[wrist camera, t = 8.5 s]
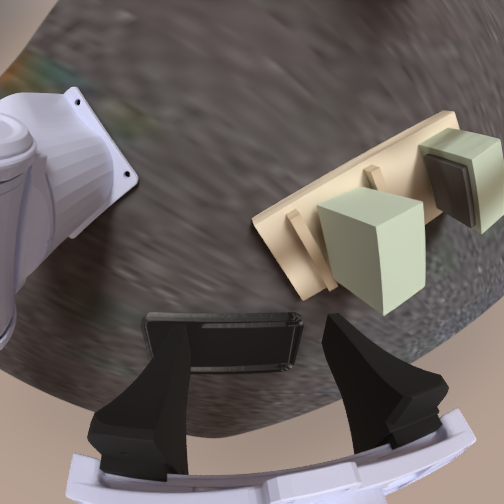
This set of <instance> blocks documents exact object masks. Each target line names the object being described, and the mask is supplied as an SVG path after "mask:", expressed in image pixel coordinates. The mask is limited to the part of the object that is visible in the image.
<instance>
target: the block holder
mask: <svg viewBox="0 0 504 504" xmlns="http://www.w3.org/2000/svg"><path fill="white" fill-rule="evenodd" d="M358 187H365V188H369V189H374V190H378V191H382V192H386V193H391V194H395V195H399V196H403V197H407V198H410V199H414V200H418V201H422V202H423V210H424V225H426V224H427V223H428V222H430V221H431V220H433V219H434V218H436V217H437V216H438V215H440V214H441V213H442V212H444V213H446V214H448V215H450V216H451V217H453V218H455V219H456V220H458V221H460V222H461V223H463V224H465V225H466V226H468V227H470V228H472V229H474V230H476V231H477V232H479V233H480V234H483V233H484V232H485V231H486V230H487V229H488V228H489V227H490V226H492V225H493V224H494V223H495V222H496V221H497V220H498V219H499V218H500V217H501V216H502V215H503V214H504V160H503V153H502V147H501V142H500V139H497V138H493V137H489V136H485V135H481V134H477V133H472V132H468V131H463V130H459V126H458V123H457V119H456V116H455V113H454V112H452V111H441V112H439V113H437V114H436V115H434V116H432V117H430V118H428V119H426V120H424V121H422V122H420V123H418V124H416V125H415V126H413V127H411V128H409V129H407V130H405V131H403V132H401V133H400V134H398V135H396V136H394V137H392V138H390V139H388V140H387V141H385V142H383V143H381V144H379V145H377V146H376V147H374V148H372V149H370V150H368V151H367V152H365V153H363V154H361V155H359V156H358V157H356V158H354V159H352V160H350V161H349V162H347V163H345V164H343V165H342V166H340V167H338V168H336V169H335V170H333V171H331V172H329V173H328V174H326V175H324V176H322V177H321V178H319V179H317V180H315V181H314V182H312V183H310V184H308V185H307V186H305V187H303V188H302V189H300V190H298V191H297V192H295V193H293V194H291V195H290V196H288V197H286V198H285V199H283V200H281V201H280V202H278V203H276V204H275V205H273V206H271V207H269V208H268V209H266V210H264V211H263V212H261V213H260V214H258V215H256V216H255V217H253V218H252V221H253V224H254V226H255V228H256V229H257V231H258V232H259V234H260V235H261V237H262V238H263V240H264V241H265V243H266V245H267V246H268V248H269V249H270V251H271V252H272V254H273V255H274V257H275V258H276V260H277V261H278V263H279V264H280V266H281V268H282V269H283V271H284V272H285V274H286V275H287V277H288V278H289V280H290V282H291V283H292V285H293V286H294V288H295V289H296V291H297V292H298V294H299V296H300V297H301V299H302V300H303V301H304V300H306V299H308V298H309V297H311V296H313V295H315V294H316V293H318V292H320V291H322V290H323V289H325V288H328V290H329V291H331V290H333V289H335V288H336V287H338V285H337V283H336V282H337V281H336V280H334V279H333V277H332V272H331V267H330V262H329V257H328V253H327V248H326V244H325V239H324V235H323V231H322V226H321V222H320V218H319V214H318V210H317V206H316V205H317V204H320V203H322V202H324V201H327V200H329V199H332V198H334V197H336V196H339V195H341V194H344V193H346V192H348V191H351V190H353V189H356V188H358Z"/></svg>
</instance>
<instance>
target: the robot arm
mask: <svg viewBox="0 0 504 504" xmlns="http://www.w3.org/2000/svg"><path fill="white" fill-rule="evenodd" d="M79 99H80V101H81V102H80V104H79V105H77V101H78V100H79ZM126 171H128V172H130V177H127V176H126V175H125V172H126ZM138 180H139V179H138V176H137V174H136V173H135V171H134V170H133V168H132V167H131V166H130V164H129V163H128V161H127V160H126V159H125V157H124V156H123V154H122V153H121V151H120V150H119V149H118V147H117V146H116V144H115V143H114V141H113V140H112V138H111V137H110V136H109V134H108V133H107V131H106V130H105V128H104V127H103V125H102V124H101V122H100V121H99V119H98V118H97V116H96V115H95V113H94V112H93V110H92V109H91V107H90V106H89V104H88V103H87V101H86V100H85V98H84V97H83V95H82V93H81V92H80V90H79V89H78V88H77V87H71V88H70V89H68V90H67V91H66V92H65V93H64V94H49V93H16V94H13V95H10V96H8V97H5V98H3V99H1V100H0V350H1V349H2V348H3V347H4V346H5V345H6V344H7V342H8V341H9V339H10V338H11V336H12V333H13V331H14V328H15V324H16V316H17V312H16V304H15V298H14V295H15V294H16V293H17V292H18V291H19V290H20V288H21V287H22V286H23V285H24V284H25V283H26V278H27V276H28V275H30V274H31V273H32V272H33V271H34V270H35V269H36V268H37V267H38V266H39V265H40V264H41V263H42V262H43V261H44V260H45V259H46V258H47V257H48V256H49V255H50V254H51V253H52V252H53V251H54V250H55V249H56V248H57V247H58V246H59V245H60V244H61V243H62V242H63V241H64V240H65V239H66V238H67V237H70V238H72V239H74V238H75V237H76V236H77V235H78V234H80V233H81V232H82V231H83V230H84V229H85V228H86V227H87V226H88V225H89V224H90V223H91V222H92V221H94V220H95V219H96V218H97V217H98V216H99V215H100V214H101V213H103V212H104V211H105V210H106V209H107V208H108V207H109V206H111V205H112V204H113V203H114V202H115V201H117V200H118V199H119V198H120V197H121V196H123V195H124V194H125V193H126V192H127V191H129V190H130V189H131V188H132V187H134V186H135V185H136V184H137V183H138ZM322 346H323V350H324V354H325V357H326V360H327V362H328V365H329V367H330V370H331V372H332V374H333V376H334V379H335V381H336V383H337V386H338V388H339V390H340V393H341V396H342V399H343V402H344V406H345V410H346V414H347V418H348V422H349V426H350V431H351V436H352V442H353V448H354V455H351V456H348V457H344V458H340V459H336V460H332V461H328V462H323V463H319V464H314V465H309V466H304V467H298V468H292V469H286V470H279V471H271V472H262V473H252V474H239V475H238V474H237V475H189V474H188V462H187V448H186V447H187V445H186V404H187V396H188V388H189V380H190V372H191V349H190V344H189V339H188V333H187V328H186V324H173V325H172V327H171V329H170V331H169V332H168V334H167V336H166V338H165V340H164V341H163V343H162V345H161V346H160V348H159V350H158V351H157V353H156V354H155V356H154V357H153V359H152V360H151V361H150V363H149V364H148V366H147V367H146V368H145V369H144V371H143V372H142V373H141V374H140V375H139V377H138V378H137V379H136V380H135V381H134V382H133V383H132V384H131V385H130V386H129V387H128V388H127V389H126V390H125V391H124V392H123V393H121V394H120V395H119V396H118V397H117V398H116V399H114V400H113V401H112V402H111V403H109V404H108V405H106V406H105V407H103V408H102V409H100V410H99V411H97V412H95V413H94V416H93V418H92V421H91V424H90V428H89V432H88V436H87V438H88V441H89V442H90V444H91V445H92V446H93V447H94V448H95V449H96V450H97V451H98V452H99V453H100V454H101V455H102V457H101V461H100V460H99V459H96V458H93V457H89V456H85V455H81V454H77V453H74V454H73V458H72V462H71V467H70V472H69V477H68V482H67V488H66V494H65V495H66V497H68V498H70V499H71V500H73V501H75V502H77V503H79V504H387V501H386V498H385V495H388V494H390V493H392V492H394V491H396V490H399V489H401V488H403V487H405V486H407V485H409V484H411V483H413V482H415V481H417V480H419V479H421V478H423V477H424V476H426V475H428V474H430V473H432V472H433V471H435V470H437V469H439V468H441V467H442V466H444V465H446V464H447V463H449V462H451V461H452V460H454V459H455V458H456V457H457V456H459V455H460V454H461V453H462V452H464V451H465V450H466V449H467V448H468V447H469V446H471V445H472V444H473V443H474V442H475V441H476V438H475V436H474V434H473V432H472V430H471V429H470V427H469V425H468V424H467V422H466V420H465V418H464V417H463V415H462V414H461V412H460V410H459V409H458V408H456V409H454V410H452V411H450V412H448V413H446V414H445V415H443V416H442V417H440V418H439V417H438V415H437V414H438V413H439V410H438V408H437V406H438V405H439V404H440V402H441V401H442V400H443V399H444V397H445V396H446V394H447V392H448V389H449V387H448V385H447V383H446V382H445V380H444V379H443V378H442V376H441V375H439V374H435V373H432V372H429V371H425V370H422V369H420V368H417V367H415V366H412V365H410V364H408V363H406V362H404V361H402V360H400V359H398V358H396V357H394V356H393V355H391V354H390V353H388V352H386V351H385V350H383V349H382V348H380V347H379V346H377V345H376V344H375V343H373V342H372V341H371V340H369V339H368V338H367V337H366V336H364V335H363V334H362V333H361V332H360V331H358V330H357V329H356V328H355V327H354V326H353V325H352V324H350V323H349V322H348V321H347V320H346V319H345V318H344V317H342V316H341V315H340V314H339V313H336V314H328V316H327V321H326V325H325V330H324V334H323V338H322Z"/></svg>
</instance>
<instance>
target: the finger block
mask: <svg viewBox="0 0 504 504" xmlns="http://www.w3.org/2000/svg"><path fill="white" fill-rule="evenodd" d="M316 206H317V210H318V214H319V218H320V222H321V226H322V231H323V235H324V239H325V244H326V248H327V253H328V257H329V262H330V267H331V272H332V277H333V279H334V280H336V281H337V282H339V283H340V284H341V285H343V286H344V287H345V288H347V289H348V290H349V291H351V292H352V293H353V294H355V295H356V296H357V297H359V298H360V299H361V300H363V301H364V302H365V303H367V304H368V305H369V306H371V307H372V308H373V309H375V310H376V311H377V312H379V313H380V314H381V315H383V316H385V315H386V314H387V313H389V312H390V311H392V310H393V309H395V308H396V307H397V306H399V305H400V304H402V303H403V302H404V301H406V300H407V299H409V298H410V297H411V296H413V295H414V294H415V293H417V292H418V291H419V290H421V289H422V288H423V287H424V286H425V225H424V210H423V202H422V201H418V200H414V199H410V198H407V197H403V196H399V195H395V194H391V193H386V192H382V191H378V190H374V189H369V188H365V187H358V188H356V189H353V190H351V191H348V192H346V193H344V194H341V195H339V196H336V197H334V198H332V199H329V200H327V201H324V202H322V203H320V204H317V205H316Z"/></svg>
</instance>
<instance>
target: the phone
mask: <svg viewBox="0 0 504 504" xmlns="http://www.w3.org/2000/svg"><path fill="white" fill-rule="evenodd" d="M173 324H186V328H187V333H188V339H189V344H190V349H191V372H190V374H248V373H268V372H282V371H287V370H289V369H291V368H292V367H293V365H294V362H295V359H296V355H297V351H298V347H299V343H300V339H301V334H302V330H303V321H302V318H301V316H300V315H299V314H297V313H293V312H288V313H250V314H198V313H160V312H150V313H147V314H145V315H144V317H143V319H142V322H141V328H142V333H143V337H144V341H145V345H146V349H147V353H148V357H149V360H150V361H151V360H152V359H153V357H154V356H155V354H156V353H157V351H158V350H159V348H160V346H161V345H162V343H163V341H164V340H165V338H166V336H167V334H168V332H169V331H170V329H171V327H172V325H173Z"/></svg>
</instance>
